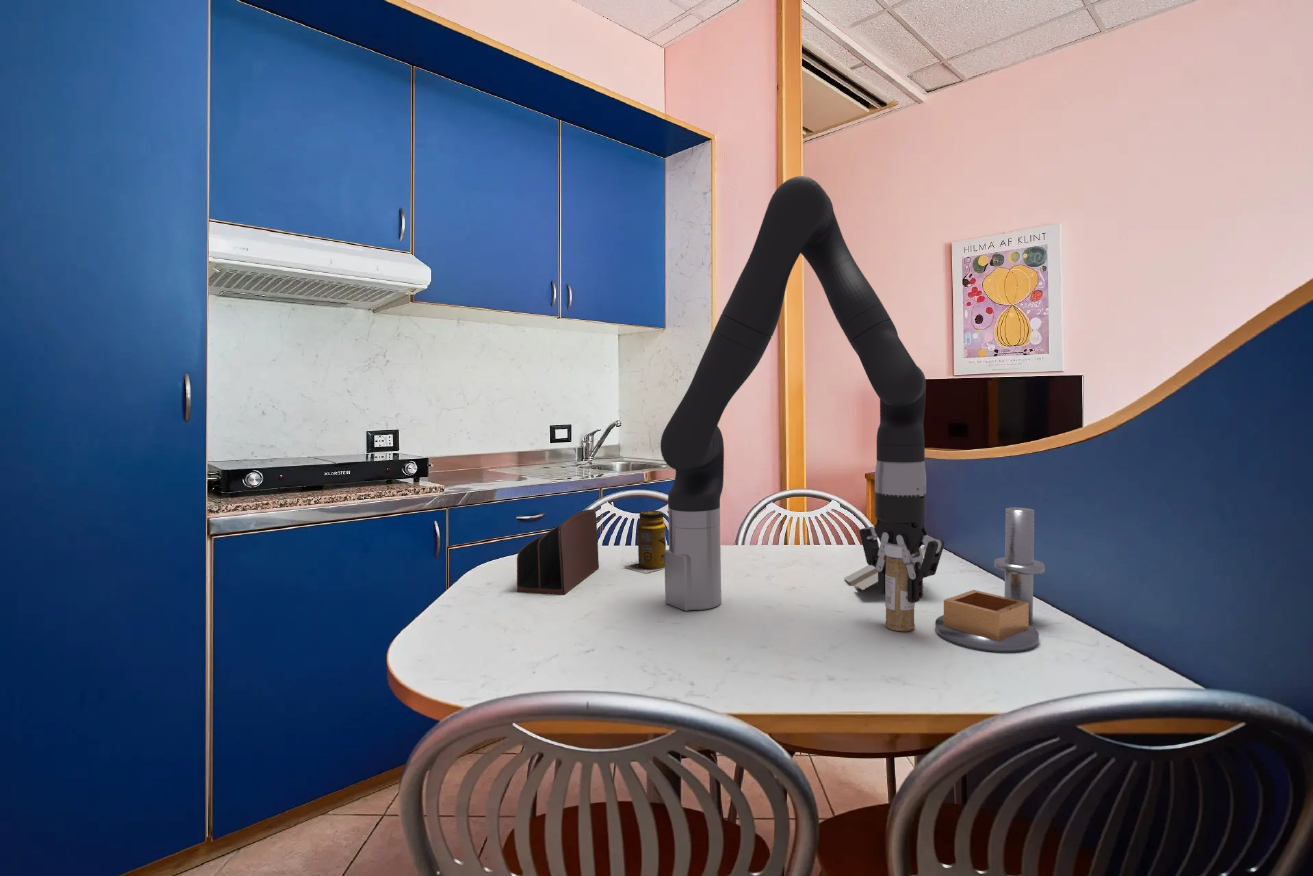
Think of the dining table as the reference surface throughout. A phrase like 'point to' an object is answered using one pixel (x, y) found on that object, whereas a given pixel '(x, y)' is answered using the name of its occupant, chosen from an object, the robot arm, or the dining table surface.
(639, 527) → the condiment
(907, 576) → the sprinkles bottle
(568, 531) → the letter holder
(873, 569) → the tilted grey ramp
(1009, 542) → the caddy stand
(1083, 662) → the dining table surface
